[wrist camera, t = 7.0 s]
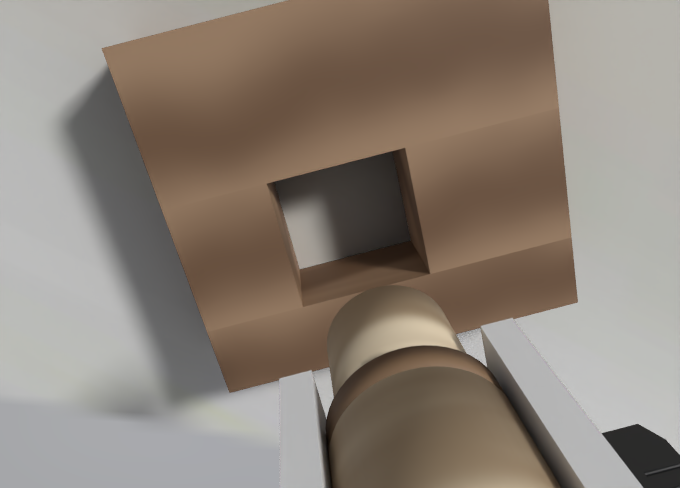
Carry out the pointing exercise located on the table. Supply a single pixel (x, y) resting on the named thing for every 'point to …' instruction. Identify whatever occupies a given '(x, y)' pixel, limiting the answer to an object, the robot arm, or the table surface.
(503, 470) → the peg
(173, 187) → the board
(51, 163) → the table surface
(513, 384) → the robot arm
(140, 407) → the table surface
